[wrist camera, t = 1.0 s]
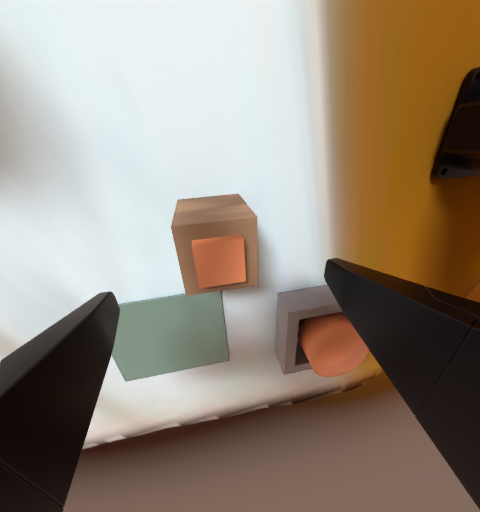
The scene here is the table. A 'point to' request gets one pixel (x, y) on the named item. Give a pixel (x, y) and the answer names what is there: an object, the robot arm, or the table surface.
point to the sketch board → (170, 335)
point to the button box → (288, 316)
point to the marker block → (215, 243)
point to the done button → (331, 344)
